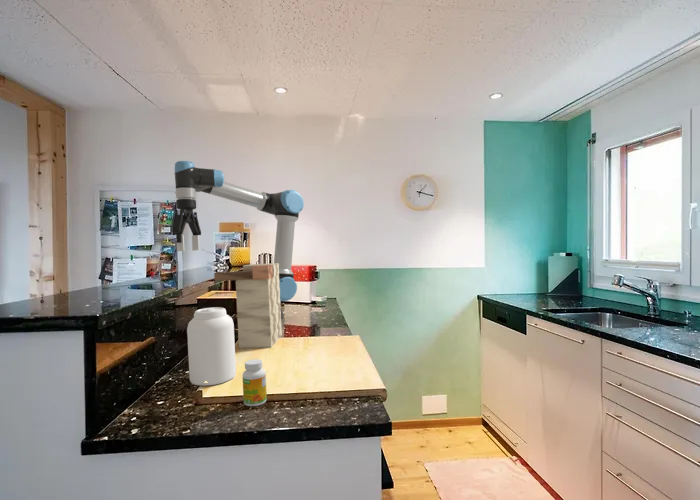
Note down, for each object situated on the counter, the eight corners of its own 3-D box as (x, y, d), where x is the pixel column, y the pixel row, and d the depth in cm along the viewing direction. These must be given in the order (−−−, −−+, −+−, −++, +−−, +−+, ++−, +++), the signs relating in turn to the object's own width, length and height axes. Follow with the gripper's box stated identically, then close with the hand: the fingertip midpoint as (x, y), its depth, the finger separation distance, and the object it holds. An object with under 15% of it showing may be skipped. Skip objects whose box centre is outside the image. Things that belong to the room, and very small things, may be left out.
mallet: (219, 279, 146) (218, 266, 146) (272, 277, 145) (272, 264, 145) (212, 281, 140) (212, 267, 140) (268, 279, 139) (268, 265, 139)
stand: (253, 336, 157) (249, 264, 156) (281, 335, 156) (278, 263, 156) (238, 348, 139) (235, 267, 138) (271, 347, 138) (267, 265, 138)
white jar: (179, 383, 105) (176, 311, 105) (214, 369, 116) (211, 304, 116) (211, 389, 99) (208, 314, 99) (245, 374, 110) (242, 306, 110)
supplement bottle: (239, 406, 88) (237, 365, 88) (249, 397, 93) (247, 358, 93) (262, 407, 87) (260, 365, 87) (270, 397, 92) (268, 358, 92)
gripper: (190, 203, 168) (193, 250, 169) (161, 196, 143) (163, 251, 144) (207, 202, 168) (209, 249, 168) (180, 195, 143) (183, 251, 143)
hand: (188, 250), depth 156 cm, fingers open, 13 cm apart
